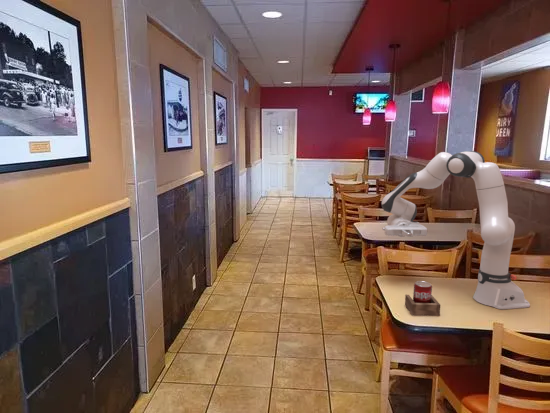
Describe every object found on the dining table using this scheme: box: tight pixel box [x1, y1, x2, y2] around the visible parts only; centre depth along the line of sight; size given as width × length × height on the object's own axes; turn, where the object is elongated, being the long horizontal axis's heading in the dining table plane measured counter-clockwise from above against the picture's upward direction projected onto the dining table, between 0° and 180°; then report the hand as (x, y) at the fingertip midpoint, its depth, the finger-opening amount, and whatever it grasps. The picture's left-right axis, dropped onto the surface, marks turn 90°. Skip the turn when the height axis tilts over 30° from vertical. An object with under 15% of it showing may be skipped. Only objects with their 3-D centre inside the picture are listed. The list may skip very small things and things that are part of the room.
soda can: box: [412, 280, 433, 303], centre depth 166 cm, size 7×7×12 cm
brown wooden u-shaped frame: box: [404, 294, 441, 317], centre depth 166 cm, size 12×10×5 cm
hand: (410, 234), depth 183 cm, fingers closed
